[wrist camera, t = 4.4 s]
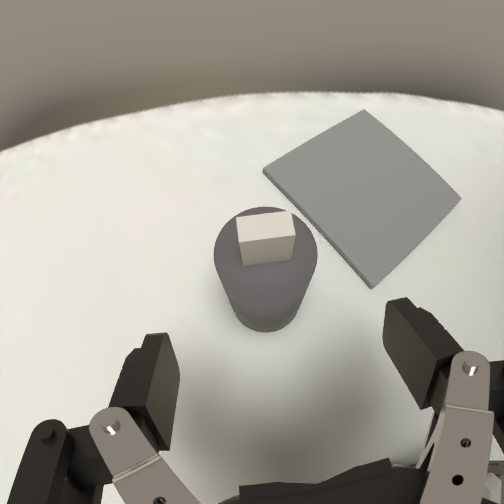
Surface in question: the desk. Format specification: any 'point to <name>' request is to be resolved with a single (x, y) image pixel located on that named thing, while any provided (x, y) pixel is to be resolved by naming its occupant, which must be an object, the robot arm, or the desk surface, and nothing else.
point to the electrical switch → (491, 481)
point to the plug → (265, 266)
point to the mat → (364, 193)
